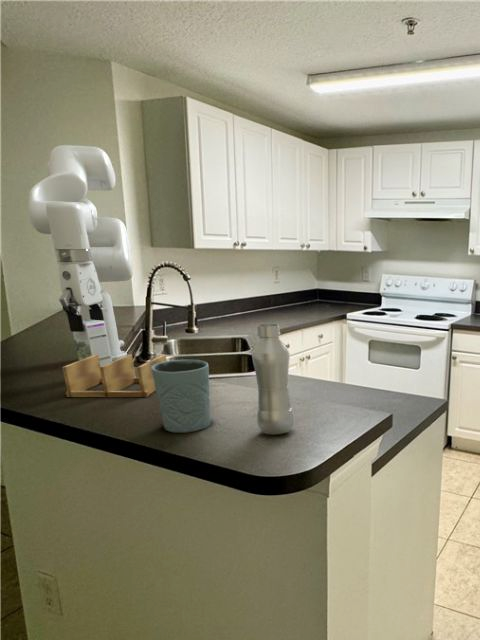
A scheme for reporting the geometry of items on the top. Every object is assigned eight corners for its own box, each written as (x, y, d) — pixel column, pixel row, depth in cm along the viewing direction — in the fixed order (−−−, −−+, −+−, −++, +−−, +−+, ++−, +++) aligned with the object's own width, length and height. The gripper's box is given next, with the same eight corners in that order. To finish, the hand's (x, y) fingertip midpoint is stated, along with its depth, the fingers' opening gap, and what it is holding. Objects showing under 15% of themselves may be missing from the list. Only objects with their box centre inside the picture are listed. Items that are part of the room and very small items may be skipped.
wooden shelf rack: (98, 381, 138) (93, 354, 135) (171, 381, 138) (167, 354, 135) (66, 397, 125) (60, 367, 122) (147, 397, 125) (142, 367, 122)
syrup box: (116, 375, 144) (105, 319, 139) (96, 380, 139) (84, 323, 134) (101, 373, 146) (90, 318, 141) (81, 378, 141) (69, 321, 136)
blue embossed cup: (185, 415, 112) (177, 357, 108) (226, 420, 109) (219, 361, 105) (148, 430, 103) (138, 368, 99) (192, 437, 100) (183, 373, 96)
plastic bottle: (261, 427, 105) (251, 322, 98) (296, 426, 105) (289, 322, 98) (255, 439, 99) (244, 328, 92) (293, 438, 99) (285, 327, 92)
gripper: (69, 259, 124) (84, 334, 130) (107, 255, 140) (119, 322, 146) (36, 259, 124) (53, 334, 130) (78, 255, 140) (91, 322, 146)
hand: (88, 327), depth 138 cm, fingers open, 9 cm apart
